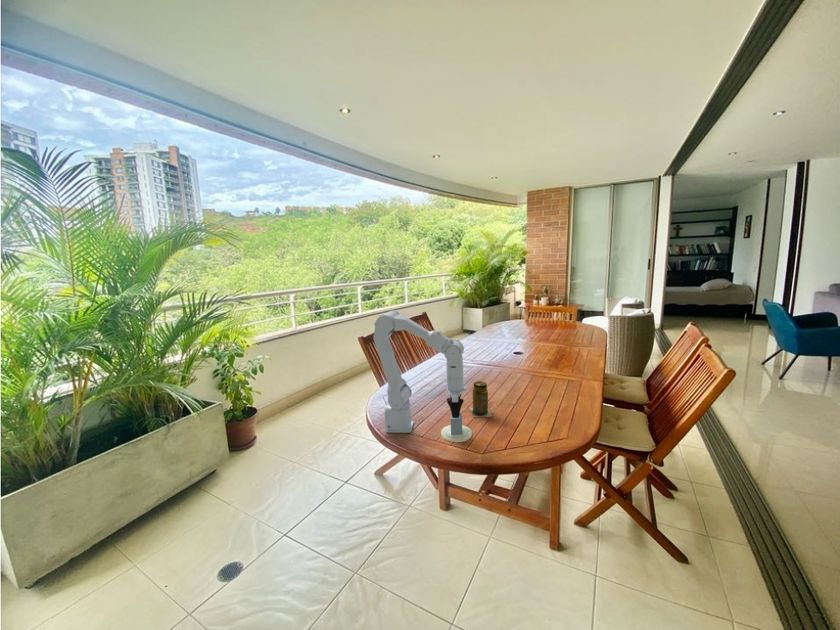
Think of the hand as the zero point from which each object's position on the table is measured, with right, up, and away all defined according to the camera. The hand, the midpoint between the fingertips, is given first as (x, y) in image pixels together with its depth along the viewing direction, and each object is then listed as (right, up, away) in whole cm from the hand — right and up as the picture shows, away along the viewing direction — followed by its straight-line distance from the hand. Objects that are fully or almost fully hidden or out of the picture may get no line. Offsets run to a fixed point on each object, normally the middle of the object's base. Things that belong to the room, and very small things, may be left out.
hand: (455, 412), depth 120 cm
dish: (0, -9, +2) cm, 9 cm away
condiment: (+12, -5, +17) cm, 21 cm away
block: (0, -7, +1) cm, 8 cm away
